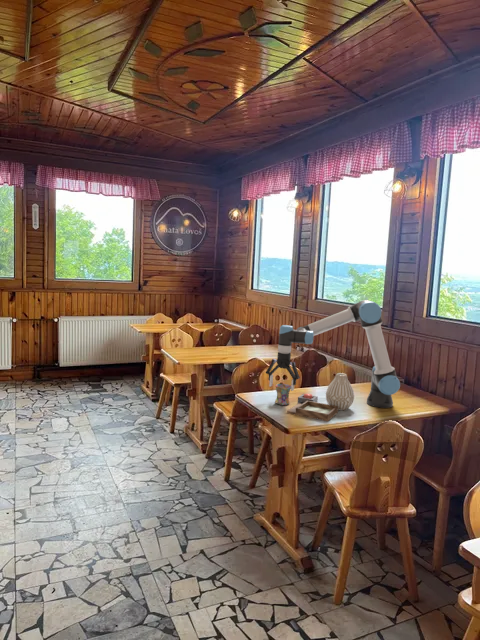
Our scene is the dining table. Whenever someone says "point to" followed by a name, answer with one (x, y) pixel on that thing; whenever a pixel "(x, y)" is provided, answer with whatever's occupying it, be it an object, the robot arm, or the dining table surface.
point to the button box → (306, 399)
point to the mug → (282, 394)
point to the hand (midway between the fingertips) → (281, 388)
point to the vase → (340, 392)
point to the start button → (308, 396)
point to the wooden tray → (314, 410)
